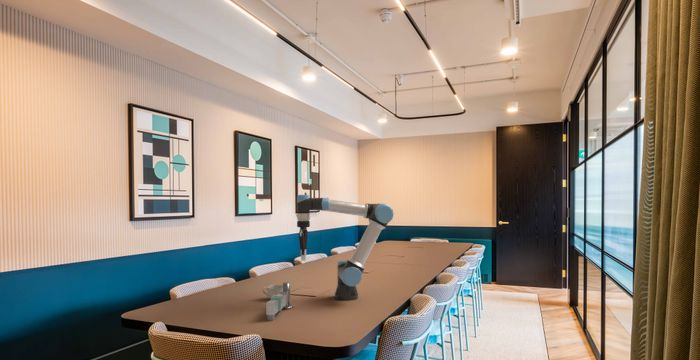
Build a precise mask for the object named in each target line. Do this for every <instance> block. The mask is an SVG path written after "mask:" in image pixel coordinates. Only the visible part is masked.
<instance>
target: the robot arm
mask: <svg viewBox="0 0 700 360" xmlns="http://www.w3.org/2000/svg"><path fill="white" fill-rule="evenodd" d="M311 211H323V212H330V213H337V214H338V213H339V214H343V215H344V214H346V215H352V216H358V217H363V218H364V219H368V222H369V223H368V225H367V227H366V229H365V230H364V233H363V235H362V237H361V239H360V241H359V242H358V245H357V247H356V249H355V250H354V252H353V254H352V255H351V257H350V258H348V259H347V260H339V261H338V262H337V265H336V266H337V268H336V269H337V272H336V274H337V279H336V280H337V285H336V289H335V291H334V299H337V300H341V301H352V300H356V299H359V292H358V289H357V286H358V285H359V284H360V283H361V281H362V279H363V273H364V271H365V270H366V269H365V264H366V261H367V260H368V258H369V256H370V253H371V251H372V250H373V248H374V246H375V244H376V242H377V240H378V238H379V235H380V234H381V233H382V230H384V229H386V228H387V225H388V224H389V223H390V222H391V221H393V219H394V215H395V213H394V209H393V208H392V206H391V205H389V204H387V203H367V202H366V203H365V204H362V203H355V202H347V201H342V200H335V199H330V198H328V197H310V195H309V194H298V195H297V196H296V227H297V228H299V233H298V239H299V240H298V241H299V250H300V261H307V249H308V236H309V231H308V228H309V227H310V226H311V225H310V224H311V221H310V219H311V218H310V217H311V216H310V215H311V213H310V212H311Z"/></svg>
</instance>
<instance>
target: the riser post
mask: <svg viewBox="0 0 700 360" xmlns="http://www.w3.org/2000/svg"><path fill="white" fill-rule="evenodd" d="M290 284H291V283H290V282H288V281H287V282H286V281H285V282H282V285H283V291H288V308H282V309H281V310H291V309H293V308H294V305H293V304H290V303H291V301H290V300H291V299H290V298H291V297H290V295H291V285H290Z"/></svg>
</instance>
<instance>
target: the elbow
mask: <svg viewBox="0 0 700 360" xmlns="http://www.w3.org/2000/svg"><path fill="white" fill-rule="evenodd" d="M272 297H281V310H283V309H282V308H288V291H280V294H278V295H273V296H272Z"/></svg>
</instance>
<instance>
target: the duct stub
mask: <svg viewBox="0 0 700 360" xmlns="http://www.w3.org/2000/svg"><path fill="white" fill-rule="evenodd" d="M265 304H266V305H265V308H266V309H265V310H266V313H265V315H266V316H267V321H272V322H273V321H275V320H276V314H277V313H278V312H281V311H282V309H281V297H271V299H270V300H268V301H267V302H266V303H265Z"/></svg>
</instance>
